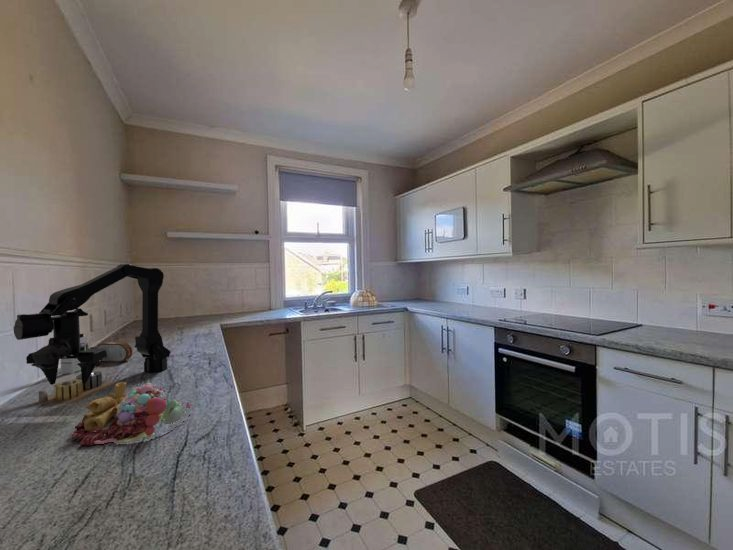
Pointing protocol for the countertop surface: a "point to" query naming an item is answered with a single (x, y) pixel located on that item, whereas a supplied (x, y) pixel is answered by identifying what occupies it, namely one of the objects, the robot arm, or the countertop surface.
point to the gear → (92, 380)
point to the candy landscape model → (127, 415)
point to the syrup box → (71, 364)
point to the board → (45, 399)
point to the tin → (116, 351)
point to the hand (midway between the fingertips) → (68, 383)
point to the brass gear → (68, 390)
